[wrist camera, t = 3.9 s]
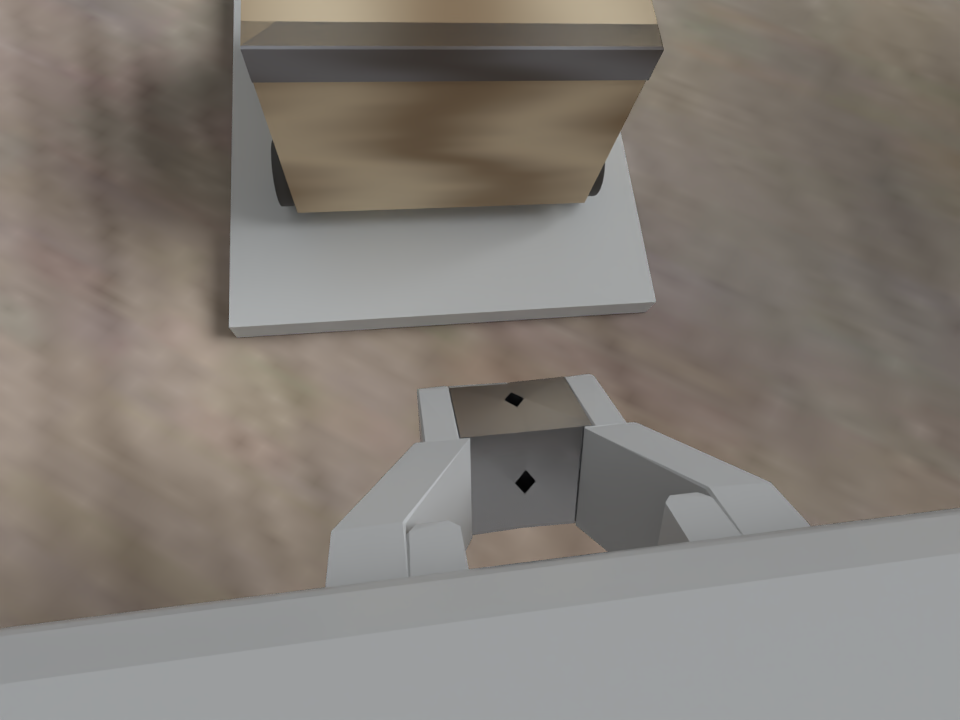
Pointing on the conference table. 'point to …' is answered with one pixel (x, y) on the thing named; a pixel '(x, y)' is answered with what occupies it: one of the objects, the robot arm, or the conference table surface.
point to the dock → (420, 251)
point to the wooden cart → (444, 97)
